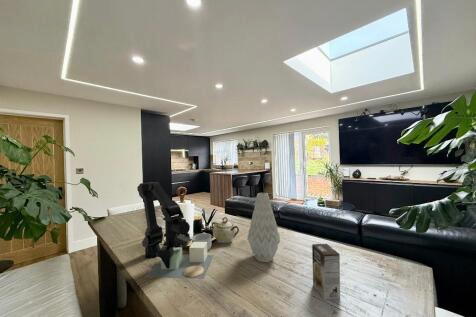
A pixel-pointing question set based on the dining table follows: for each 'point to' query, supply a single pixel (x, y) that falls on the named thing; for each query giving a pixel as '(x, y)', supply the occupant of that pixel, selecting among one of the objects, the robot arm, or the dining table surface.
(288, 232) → the dining table surface
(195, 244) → the ivory cube
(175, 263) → the frosted jade cube
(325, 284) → the coffee box
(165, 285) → the dining table surface
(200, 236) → the teacup
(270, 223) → the vase
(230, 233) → the sugar bowl
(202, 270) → the tan flat disc
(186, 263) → the slate board
